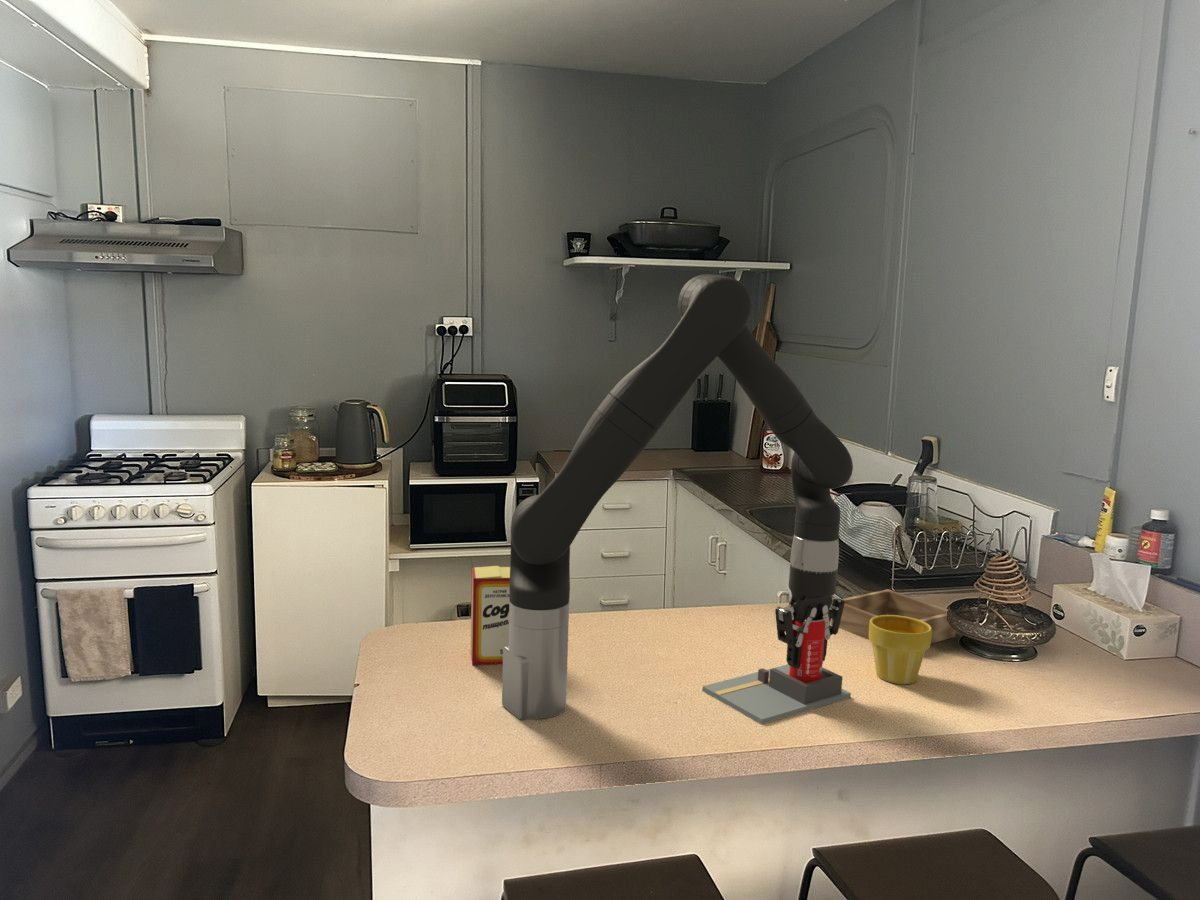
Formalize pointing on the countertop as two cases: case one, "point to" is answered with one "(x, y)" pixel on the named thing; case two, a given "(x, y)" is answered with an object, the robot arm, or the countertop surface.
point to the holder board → (777, 693)
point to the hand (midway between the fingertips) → (806, 662)
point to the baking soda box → (489, 614)
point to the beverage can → (810, 652)
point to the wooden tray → (893, 613)
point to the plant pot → (899, 646)
